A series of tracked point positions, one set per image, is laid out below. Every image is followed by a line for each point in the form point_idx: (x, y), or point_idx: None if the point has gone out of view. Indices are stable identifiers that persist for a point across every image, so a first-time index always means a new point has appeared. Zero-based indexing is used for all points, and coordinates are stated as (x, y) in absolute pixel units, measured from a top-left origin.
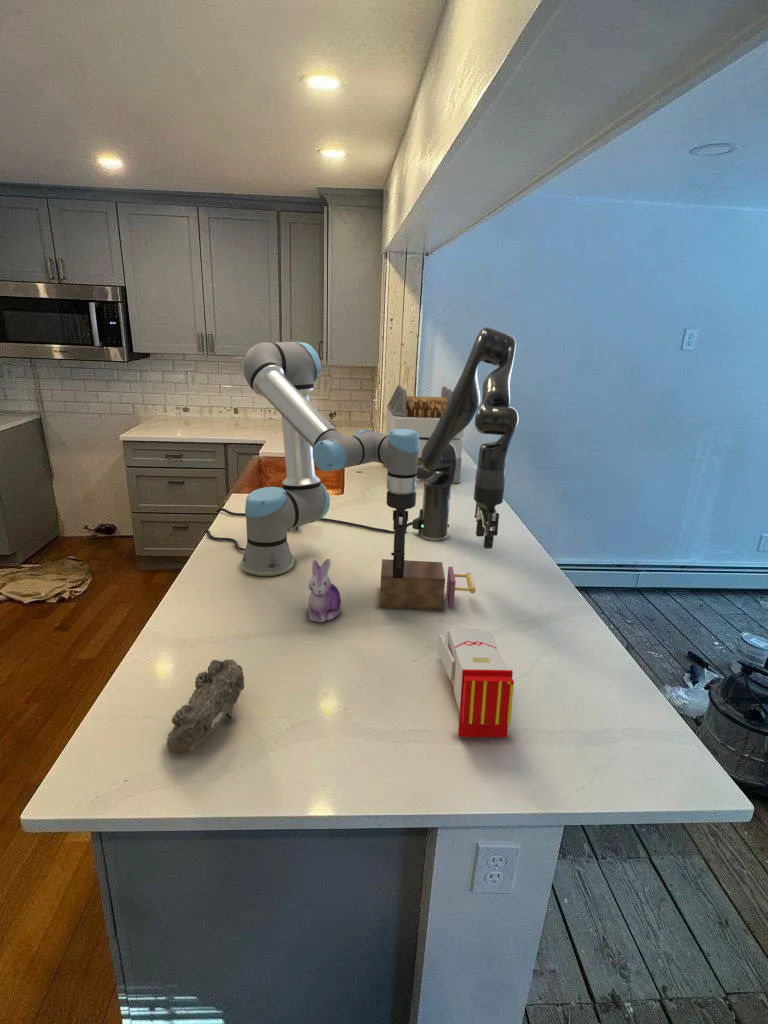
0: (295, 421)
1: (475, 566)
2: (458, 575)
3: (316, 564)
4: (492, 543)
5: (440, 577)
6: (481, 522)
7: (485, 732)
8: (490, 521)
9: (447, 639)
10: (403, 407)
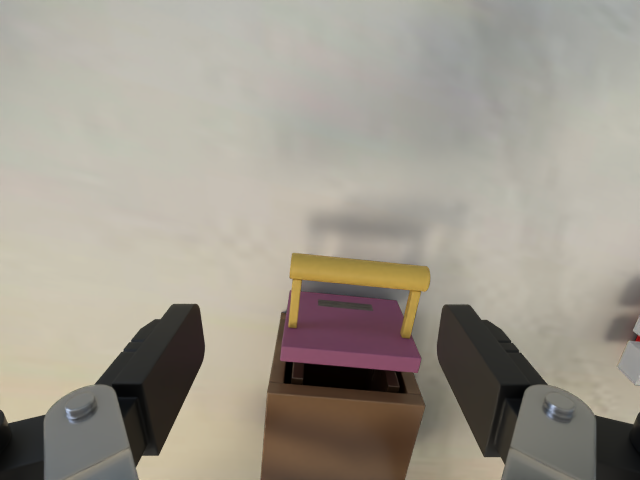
0: None
1: (43, 146)
2: (298, 306)
3: None
4: (483, 327)
5: (411, 418)
6: (135, 433)
7: None
8: None
9: (620, 368)
10: None
